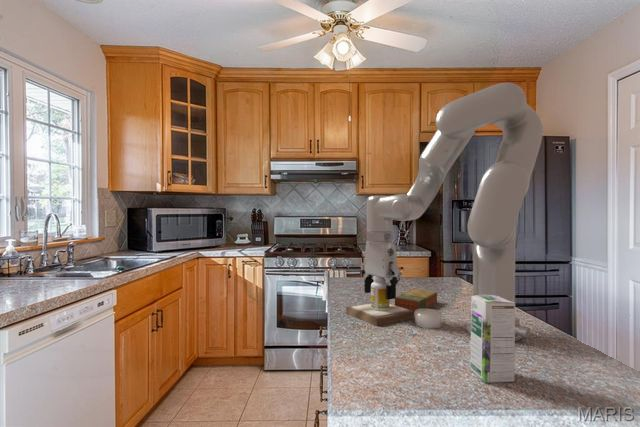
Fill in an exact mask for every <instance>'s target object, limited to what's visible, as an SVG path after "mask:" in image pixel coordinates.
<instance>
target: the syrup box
mask: <svg viewBox="0 0 640 427" xmlns="http://www.w3.org/2000/svg"><path fill="white" fill-rule="evenodd" d="M470 298H471V304H470V323H471V334H470V371H471V372H473V373H474V374H475V375H476V376H477V377H478V378H479V379H480V380H482V381H483V383H485V384H488V383H489V384H493V383H495V384H496V383H510V382H511V383H512V382H515V370H516V369H515V362H516V361H515V360H516V359H515V358H516V354H515V353H516V346H515V345H516V341H515V318H516V301H515V302H511V301H508V300H506V299H504V298H501V297H499V296H494V295H475V296H473V295H471V297H470Z"/></svg>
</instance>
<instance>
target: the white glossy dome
mask: <svg viewBox="0 0 640 427" xmlns="http://www.w3.org/2000/svg"><path fill="white" fill-rule="evenodd" d="M442 321H443V318H442V312H441V311H440V310H438V309H433V308H427V309H417V310H415V312H414V325H415V326H417V327H419V328H424V329H440V328H441V327H442Z"/></svg>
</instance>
